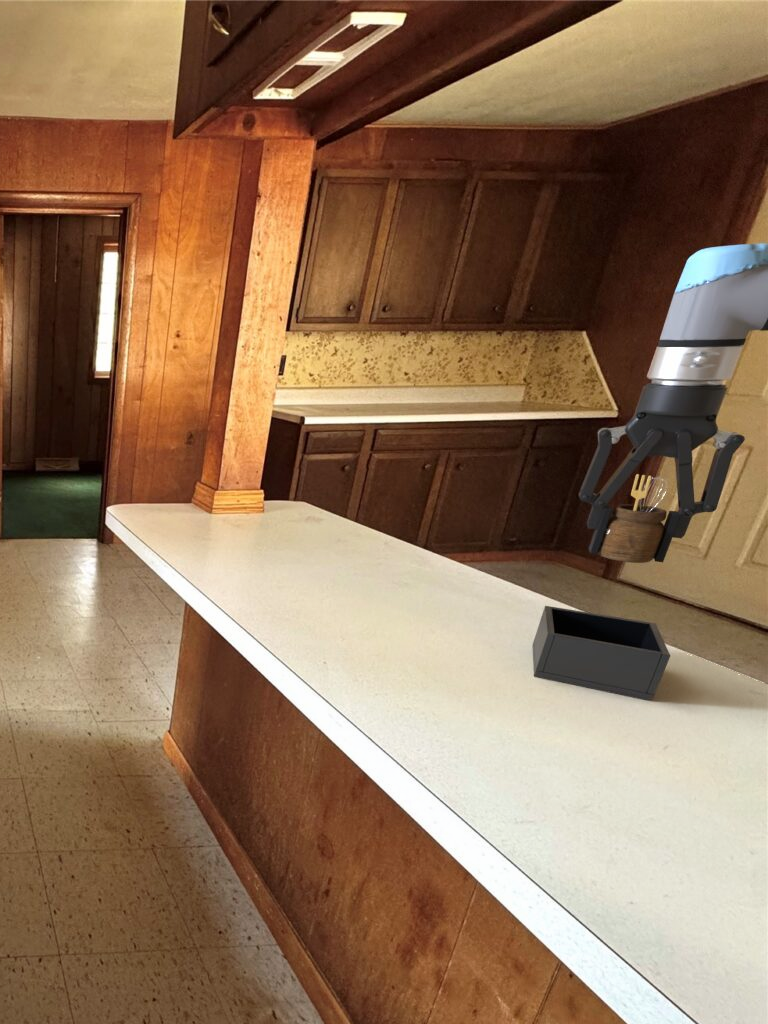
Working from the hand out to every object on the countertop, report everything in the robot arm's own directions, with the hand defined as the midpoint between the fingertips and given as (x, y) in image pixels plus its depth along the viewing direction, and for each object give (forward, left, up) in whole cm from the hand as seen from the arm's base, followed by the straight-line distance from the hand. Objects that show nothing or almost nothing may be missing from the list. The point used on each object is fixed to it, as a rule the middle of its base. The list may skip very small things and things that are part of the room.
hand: (624, 554), depth 92 cm
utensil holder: (0, 0, -1) cm, 1 cm away
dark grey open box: (0, +1, -18) cm, 18 cm away
